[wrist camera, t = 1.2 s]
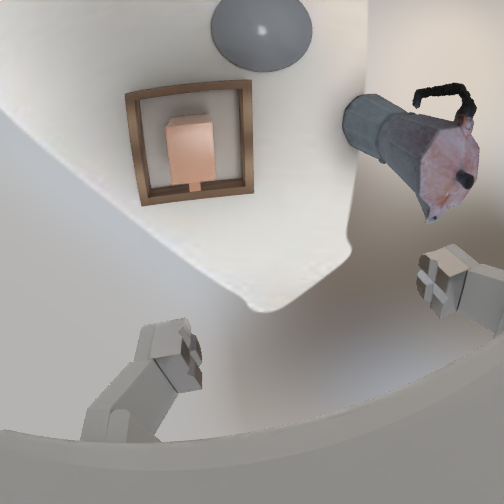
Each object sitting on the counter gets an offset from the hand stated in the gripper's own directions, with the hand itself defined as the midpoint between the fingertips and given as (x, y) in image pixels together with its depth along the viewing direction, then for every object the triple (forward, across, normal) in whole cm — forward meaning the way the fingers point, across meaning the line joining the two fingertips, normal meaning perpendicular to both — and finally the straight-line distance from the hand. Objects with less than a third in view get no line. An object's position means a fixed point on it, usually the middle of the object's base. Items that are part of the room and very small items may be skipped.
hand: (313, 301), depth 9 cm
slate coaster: (+29, -6, -15) cm, 33 cm away
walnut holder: (+30, +5, -3) cm, 30 cm away
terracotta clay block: (+30, +5, -3) cm, 30 cm away
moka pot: (+31, -19, -1) cm, 36 cm away
